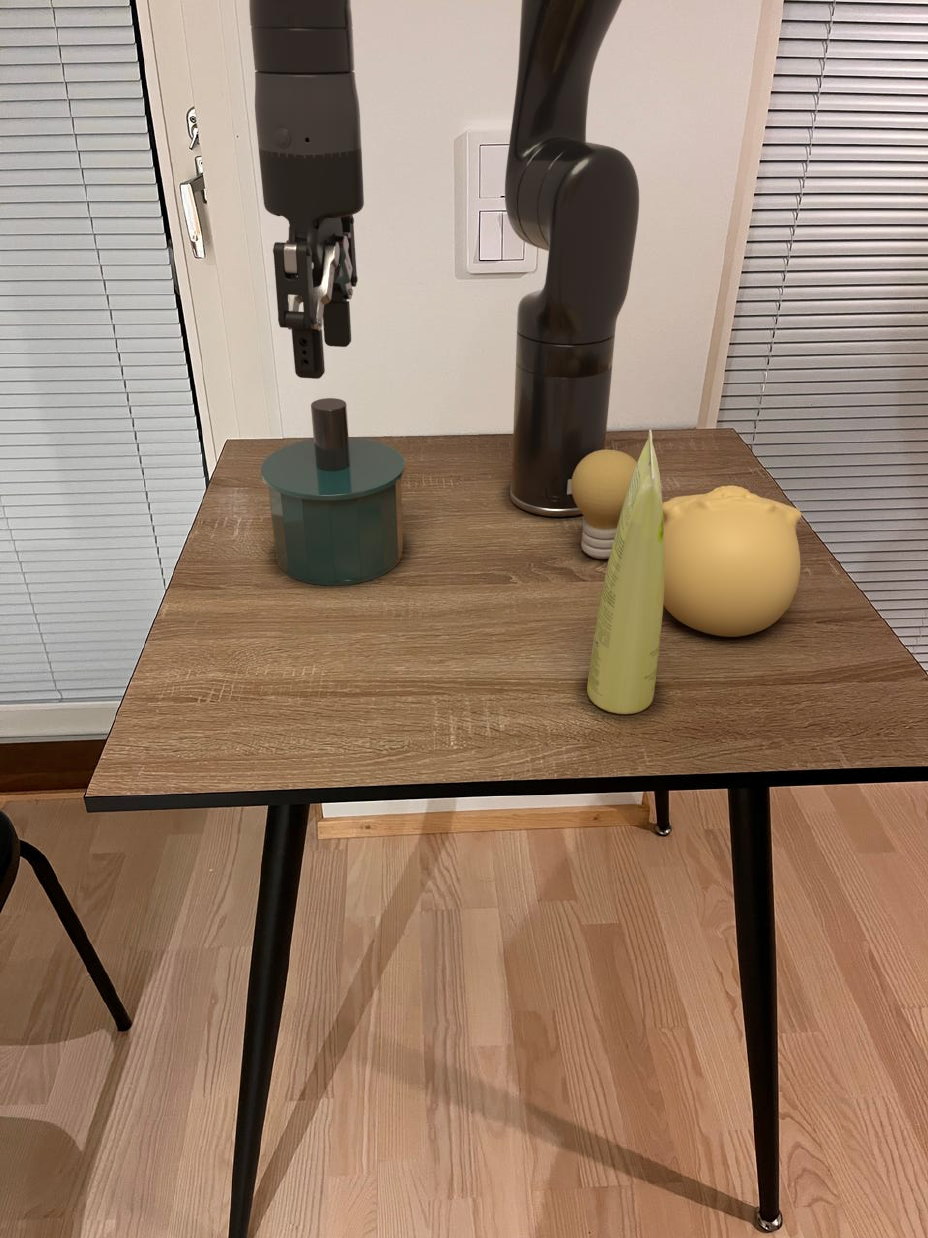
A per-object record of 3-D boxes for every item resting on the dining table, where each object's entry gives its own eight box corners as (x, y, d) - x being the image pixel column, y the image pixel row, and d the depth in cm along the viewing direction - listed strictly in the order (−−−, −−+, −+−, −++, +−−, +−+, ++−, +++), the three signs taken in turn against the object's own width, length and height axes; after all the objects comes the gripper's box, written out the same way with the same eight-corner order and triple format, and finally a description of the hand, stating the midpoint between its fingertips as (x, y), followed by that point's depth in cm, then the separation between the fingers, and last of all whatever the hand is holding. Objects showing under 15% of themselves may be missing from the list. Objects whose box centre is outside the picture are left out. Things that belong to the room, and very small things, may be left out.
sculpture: (774, 580, 85) (798, 468, 79) (800, 658, 75) (829, 536, 69) (644, 573, 86) (658, 462, 80) (652, 648, 76) (669, 527, 70)
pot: (297, 521, 94) (289, 440, 90) (413, 529, 93) (410, 447, 88) (259, 580, 85) (248, 493, 80) (387, 590, 83) (383, 502, 79)
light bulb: (641, 542, 91) (652, 444, 85) (628, 574, 86) (639, 472, 80) (575, 532, 93) (582, 434, 87) (559, 563, 88) (565, 461, 82)
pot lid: (286, 443, 91) (279, 375, 87) (417, 452, 89) (415, 383, 85) (241, 501, 80) (231, 426, 76) (388, 512, 79) (385, 436, 75)
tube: (674, 705, 70) (713, 457, 59) (621, 730, 68) (652, 475, 57) (622, 667, 74) (650, 428, 63) (571, 689, 72) (591, 444, 61)
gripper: (334, 156, 64) (347, 392, 73) (381, 133, 76) (387, 338, 84) (226, 153, 65) (252, 386, 73) (289, 130, 77) (305, 333, 85)
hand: (325, 360), depth 79 cm, fingers open, 8 cm apart
